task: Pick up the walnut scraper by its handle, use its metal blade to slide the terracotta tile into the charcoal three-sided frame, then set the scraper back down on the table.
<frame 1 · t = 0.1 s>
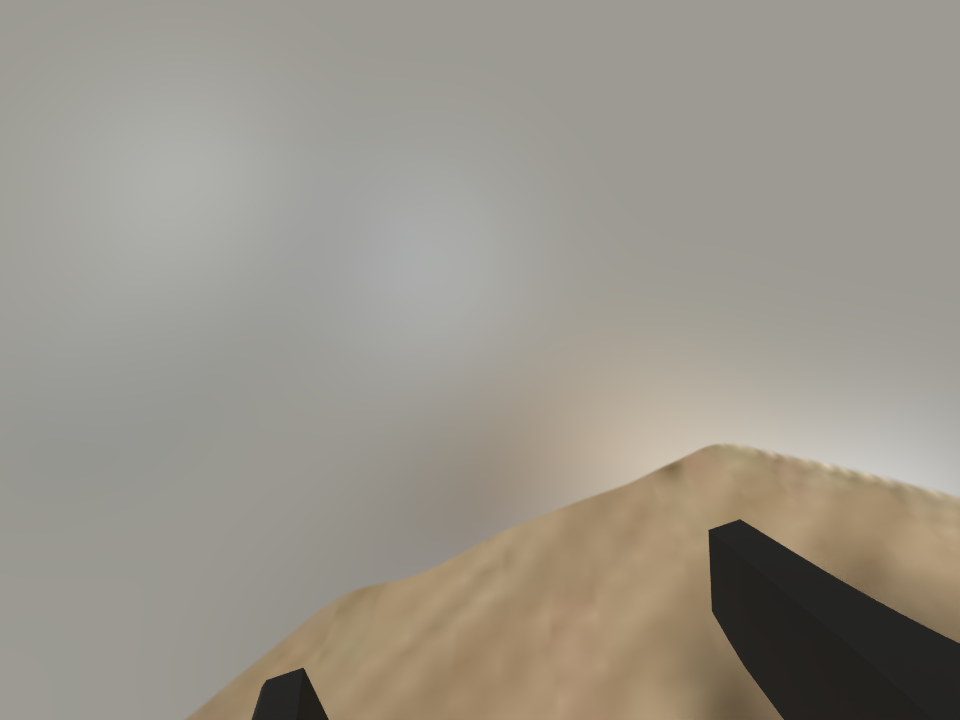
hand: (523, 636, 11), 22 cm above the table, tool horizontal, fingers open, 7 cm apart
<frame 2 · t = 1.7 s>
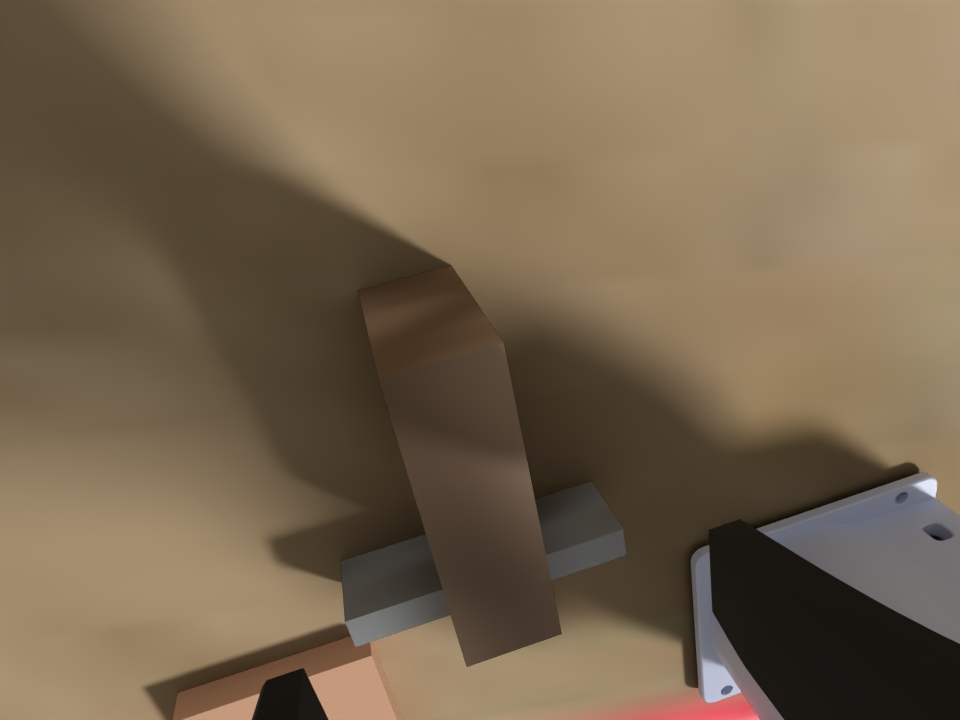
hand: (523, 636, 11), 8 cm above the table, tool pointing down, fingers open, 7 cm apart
scraper: (439, 410, 18), on the table
tile: (304, 707, 23), on the table
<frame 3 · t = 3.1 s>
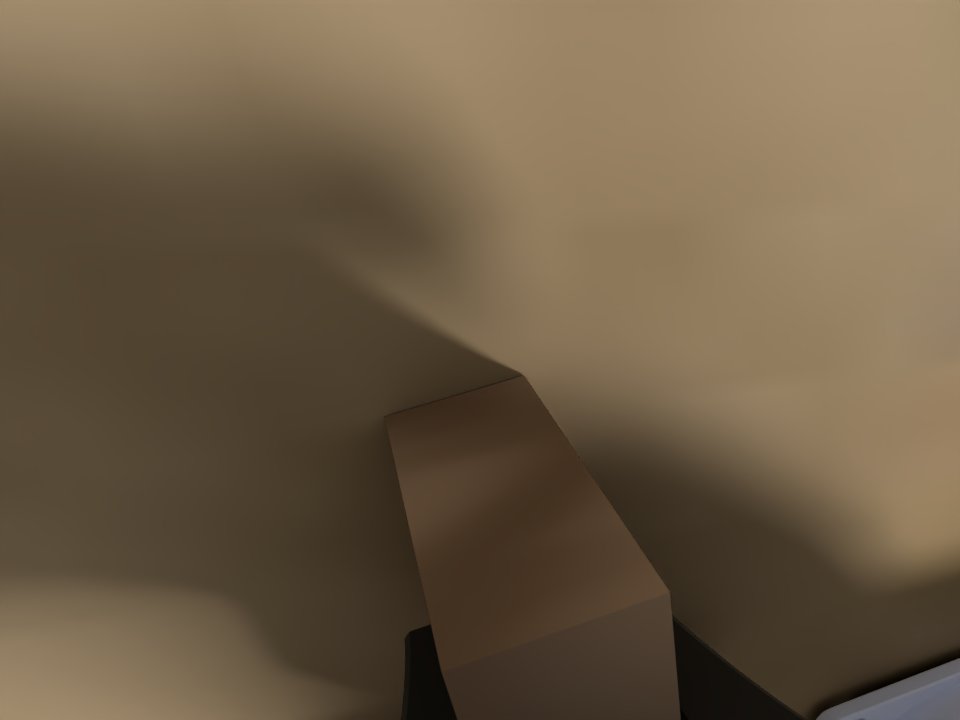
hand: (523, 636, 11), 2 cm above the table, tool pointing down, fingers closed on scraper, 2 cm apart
scraper: (498, 570, 13), on the table, touching gripper
when the fingers open (2 cm above the table, at t = 14.5 s): scraper stays where it is, on the table.
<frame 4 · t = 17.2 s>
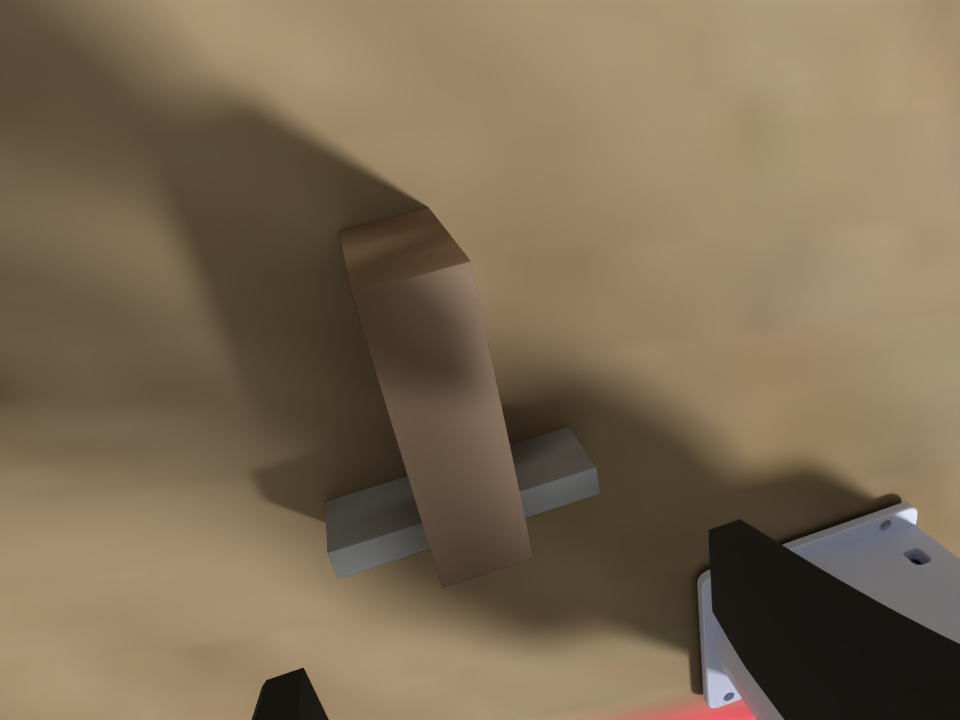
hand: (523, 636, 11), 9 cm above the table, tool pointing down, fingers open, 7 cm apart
scraper: (419, 352, 19), on the table
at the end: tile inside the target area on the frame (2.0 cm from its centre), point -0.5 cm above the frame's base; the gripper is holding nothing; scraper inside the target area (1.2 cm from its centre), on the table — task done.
